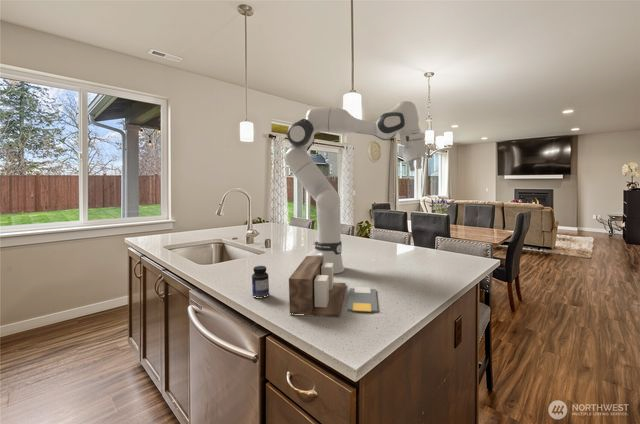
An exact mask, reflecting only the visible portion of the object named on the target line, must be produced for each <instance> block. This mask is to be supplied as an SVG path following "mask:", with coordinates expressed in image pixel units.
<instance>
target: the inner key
mask: <svg viewBox="0 0 640 424" xmlns="http://www.w3.org/2000/svg"><path fill="white" fill-rule="evenodd" d="M321 275H329V290H332V289H333V285H334V283H335V282H334V277H335V276H334V274H333V263H323V265H322V266H321Z"/></svg>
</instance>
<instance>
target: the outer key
mask: <svg viewBox="0 0 640 424" xmlns="http://www.w3.org/2000/svg"><path fill="white" fill-rule="evenodd" d="M314 296H315V307H326V308H327V305H328V302H329V275H317V276H316V278H315V280H314Z"/></svg>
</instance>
